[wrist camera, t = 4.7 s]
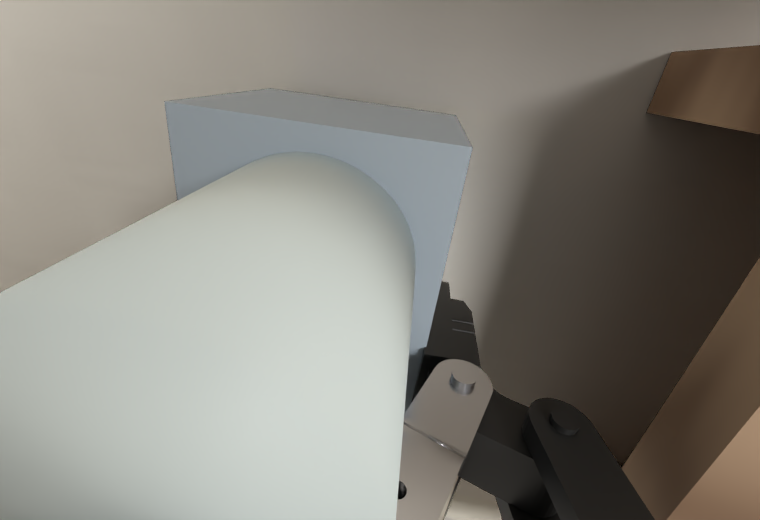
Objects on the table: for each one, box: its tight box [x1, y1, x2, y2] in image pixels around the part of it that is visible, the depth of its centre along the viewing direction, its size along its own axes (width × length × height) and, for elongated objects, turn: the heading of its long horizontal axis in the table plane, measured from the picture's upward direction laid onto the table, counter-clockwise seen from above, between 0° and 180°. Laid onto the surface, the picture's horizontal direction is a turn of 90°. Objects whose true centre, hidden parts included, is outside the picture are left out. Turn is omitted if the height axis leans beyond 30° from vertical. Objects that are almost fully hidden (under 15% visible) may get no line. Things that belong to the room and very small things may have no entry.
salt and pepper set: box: [0, 88, 473, 520], centre depth 9 cm, size 11×6×10 cm, turn 173°
